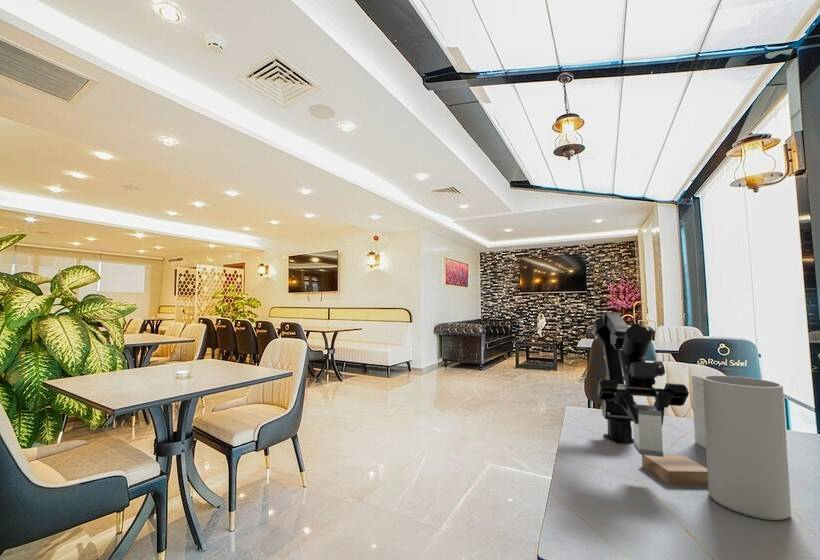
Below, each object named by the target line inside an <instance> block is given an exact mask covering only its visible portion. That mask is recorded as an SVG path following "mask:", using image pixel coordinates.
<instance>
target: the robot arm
mask: <svg viewBox="0 0 820 560" xmlns="http://www.w3.org/2000/svg"><path fill="white" fill-rule="evenodd" d="M592 331H593V335H594V336H595V338H596V342H597V343H598V344H599V346H601V348H602V351H603V356H604V357H603V358H604V364H605V370H606V379H605V378H604V379H602V378H600V380H599V381H598V386H597V398H598V400H600V401H603V403H602V405H601V413H602V417H603V418H604V420H607V433H604V434H603V437H605V438H606V439H609V440H611V441H613V442H615V443H616V444H623V443H624V444H625V443H634V437H633V430H632V427H633V426H632V422H634V423H635V424H638V420H637V415H636V412H635V409H634V406H633V404H637V401H635V399H634V396H635V397H637V396H638V397H647V398H648V397H649V398H654V400H655V401H654V404H653V406H655V407H656V408H658V409H659V410H660V411H661V412H662V416H661V418H662V426H663V425H664V418H665V409H666V408H668V407H669V406H677V407H681V406H684V405H685V403H686V401H687V399H688V397H689V395H690V392H689V390H688V387H687V385H685V384H683V383H671V382H667V383H665V386H664V388H657V387H653V386H655V385H656V378H657V377H663V376H664V375H665V374H666V371H665V370H666V369H665V366H664V362H663V361H661V360H658V361H657V360H654V361H653V362H646V360H645V356H647V355H648V353H649V350H650V349H649V348H650V346H651V343H652V340H653V333H652V332H650V331H649V330H648V329H647V328H645V327H643V326H641V324H640V323H630V326H629V325H628V324H627V323H626V322H625V320H623V318H622V315H621V313H618V312H604V313H602V316H600V317H599V318H597V319H595V320H594V322H593V327H592Z"/></svg>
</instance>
